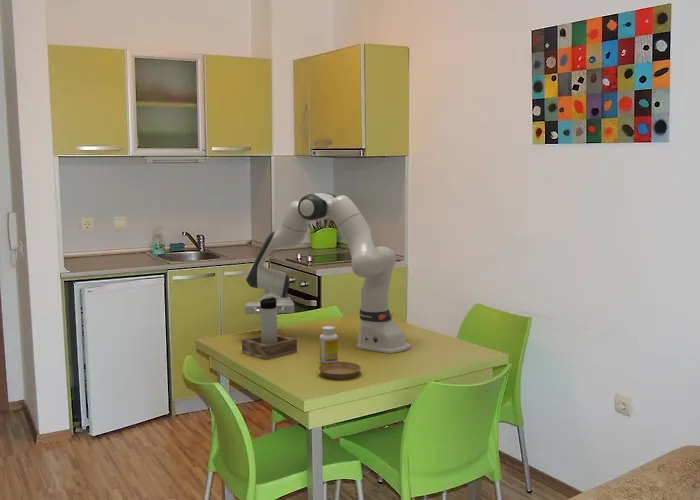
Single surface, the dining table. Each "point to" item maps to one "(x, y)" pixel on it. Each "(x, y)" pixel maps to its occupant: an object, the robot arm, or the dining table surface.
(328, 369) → the plant saucer
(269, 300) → the travel mug
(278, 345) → the square wooden tray
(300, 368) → the dining table surface
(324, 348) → the supplement bottle
